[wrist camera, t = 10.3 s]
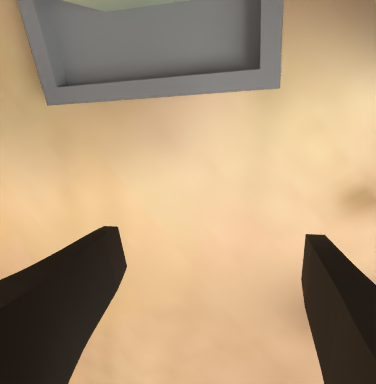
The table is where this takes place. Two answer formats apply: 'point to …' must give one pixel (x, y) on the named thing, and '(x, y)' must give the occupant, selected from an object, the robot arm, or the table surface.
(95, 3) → the cube
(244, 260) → the table surface
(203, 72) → the tray
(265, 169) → the table surface
